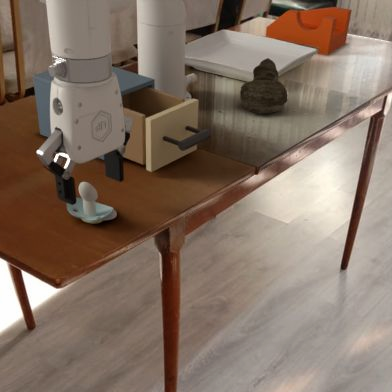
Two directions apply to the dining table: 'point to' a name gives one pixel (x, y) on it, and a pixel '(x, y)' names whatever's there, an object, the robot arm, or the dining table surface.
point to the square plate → (243, 54)
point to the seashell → (264, 90)
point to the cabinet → (43, 89)
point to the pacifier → (90, 206)
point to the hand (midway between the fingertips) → (91, 189)
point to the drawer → (161, 127)
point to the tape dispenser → (313, 28)
